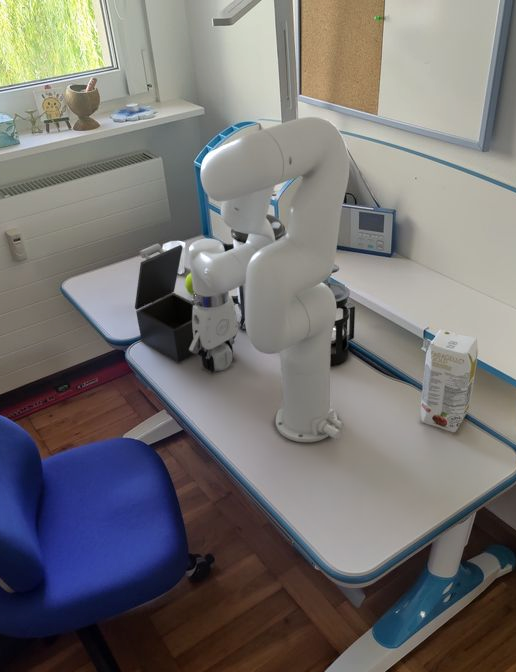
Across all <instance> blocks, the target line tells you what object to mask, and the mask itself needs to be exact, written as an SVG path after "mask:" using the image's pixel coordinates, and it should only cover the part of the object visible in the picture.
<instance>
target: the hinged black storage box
mask: <svg viewBox="0 0 516 672" xmlns="http://www.w3.org/2000/svg"><path fill="white" fill-rule="evenodd" d="M192 312H193V305H192V304H191V300H189V299H187V298H186V297H183V296H181V295H179V294H177V293H175V292H173V293H172V294H169V295H167V296H165V297H163V298H161V299H159V300H157V301H155V302H153V303H150V304H148V305H146V306H144V307H142V308H139V309H137V310H136V311H135V313H136V318H137V323H138V329H139V336H140V341H141V342H142V343H144V344H146V345H147V346H149V347H151V348H152V349H154V350H156V351H157V352H159V353H161V354H162V355H164V356H166V357H167V358H169V359H171V360H172V361H174V362H175V363H177V364H179V363H182V362H183V361H185V360H187V359H189V358H190V357H192V356H194V355H196V354H195V353H192V352H190V351H189V348H190V346H191V343H192V341H193V339H194V337H193V328H192ZM198 348H200V344H199V346H198Z"/></svg>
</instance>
